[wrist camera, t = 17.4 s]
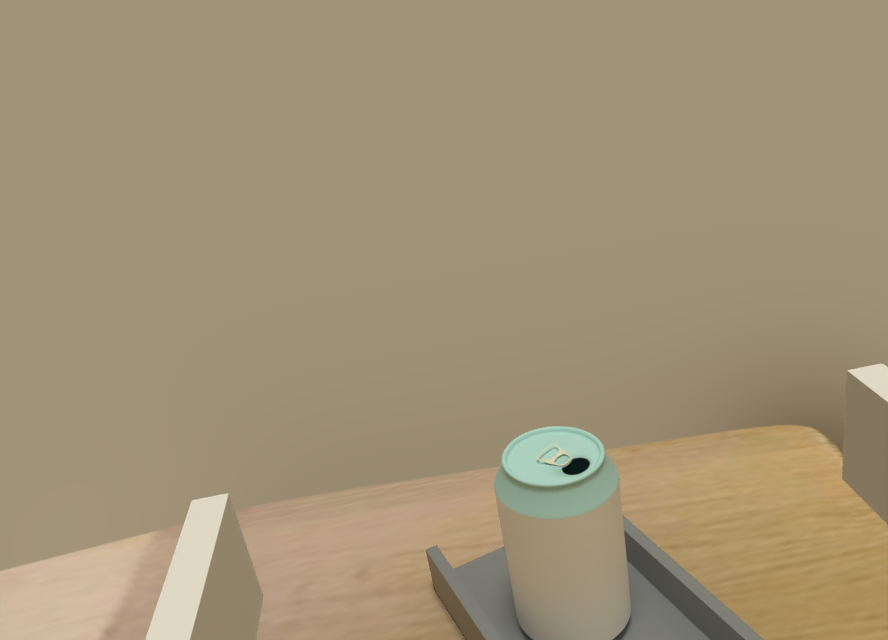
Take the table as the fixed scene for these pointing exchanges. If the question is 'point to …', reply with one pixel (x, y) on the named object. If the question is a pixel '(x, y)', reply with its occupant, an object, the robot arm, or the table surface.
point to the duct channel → (651, 593)
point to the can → (564, 535)
